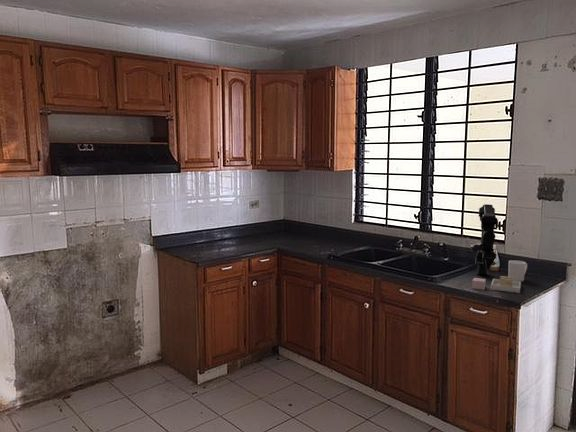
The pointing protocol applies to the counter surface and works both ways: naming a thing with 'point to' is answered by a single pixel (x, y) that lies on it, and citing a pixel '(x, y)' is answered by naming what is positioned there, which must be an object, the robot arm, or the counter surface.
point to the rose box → (478, 283)
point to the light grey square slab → (514, 288)
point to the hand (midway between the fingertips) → (486, 267)
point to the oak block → (506, 281)
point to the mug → (517, 270)
